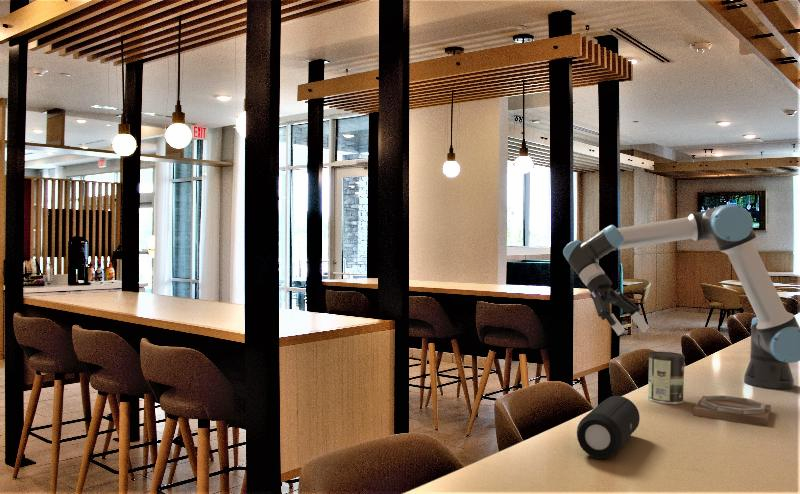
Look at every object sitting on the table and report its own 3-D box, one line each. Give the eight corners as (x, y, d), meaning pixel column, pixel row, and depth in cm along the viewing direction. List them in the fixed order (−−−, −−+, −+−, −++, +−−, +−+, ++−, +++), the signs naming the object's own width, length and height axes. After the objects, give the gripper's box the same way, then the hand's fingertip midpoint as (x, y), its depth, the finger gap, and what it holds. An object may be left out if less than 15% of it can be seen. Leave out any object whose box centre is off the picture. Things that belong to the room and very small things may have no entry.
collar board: (702, 402, 207) (703, 392, 207) (770, 411, 198) (770, 400, 198) (693, 415, 192) (693, 403, 192) (766, 425, 183) (766, 413, 183)
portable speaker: (618, 465, 148) (619, 419, 148) (572, 457, 153) (574, 412, 153) (640, 436, 170) (642, 396, 170) (600, 430, 175) (601, 391, 175)
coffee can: (679, 397, 213) (681, 352, 213) (686, 405, 203) (688, 358, 203) (644, 395, 215) (646, 350, 215) (650, 403, 205) (651, 356, 205)
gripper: (610, 286, 239) (648, 336, 227) (565, 288, 223) (603, 341, 212) (625, 272, 234) (663, 322, 223) (579, 273, 219) (618, 326, 207)
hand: (634, 331), depth 217 cm, fingers open, 13 cm apart
